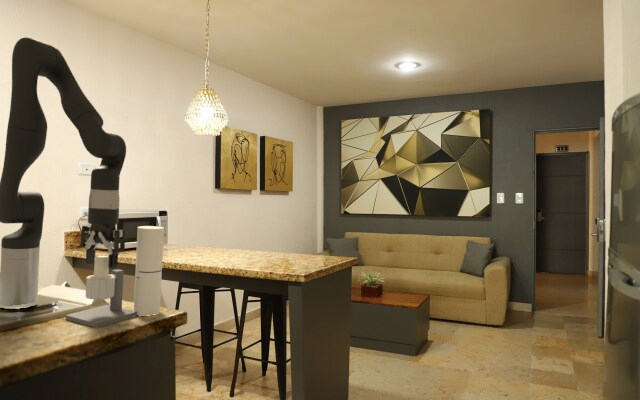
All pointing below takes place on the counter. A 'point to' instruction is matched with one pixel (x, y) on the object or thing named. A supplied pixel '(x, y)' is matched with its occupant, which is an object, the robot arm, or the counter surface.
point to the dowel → (101, 267)
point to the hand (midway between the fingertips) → (101, 265)
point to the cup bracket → (103, 290)
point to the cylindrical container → (148, 270)
